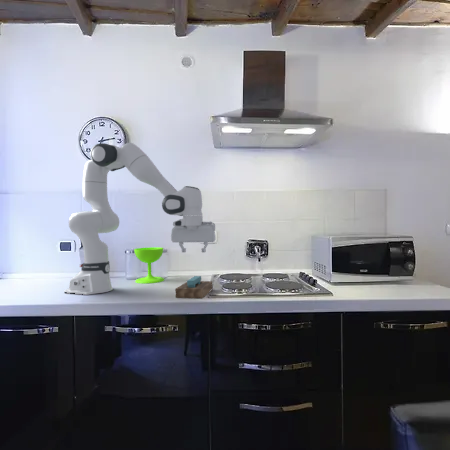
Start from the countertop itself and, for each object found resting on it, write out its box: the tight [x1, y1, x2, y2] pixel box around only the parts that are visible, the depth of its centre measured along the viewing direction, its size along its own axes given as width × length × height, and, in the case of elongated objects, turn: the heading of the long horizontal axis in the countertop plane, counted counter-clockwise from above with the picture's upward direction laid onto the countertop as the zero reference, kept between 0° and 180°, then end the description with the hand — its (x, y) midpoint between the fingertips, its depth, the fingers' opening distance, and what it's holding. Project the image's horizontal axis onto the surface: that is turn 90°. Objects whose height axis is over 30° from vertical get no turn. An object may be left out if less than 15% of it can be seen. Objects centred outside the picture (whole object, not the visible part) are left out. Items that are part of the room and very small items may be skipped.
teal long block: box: [186, 275, 202, 288], centre depth 162 cm, size 3×12×7 cm, turn 168°
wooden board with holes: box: [174, 280, 213, 299], centre depth 162 cm, size 12×18×4 cm, turn 168°
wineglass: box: [133, 246, 165, 285], centre depth 198 cm, size 16×16×18 cm
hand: (193, 252), depth 162 cm, fingers open, 8 cm apart
